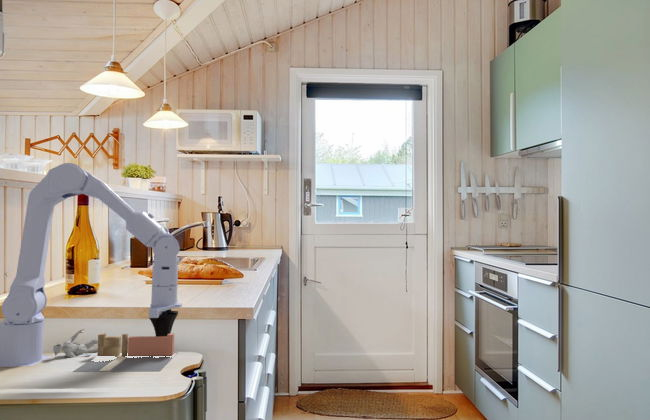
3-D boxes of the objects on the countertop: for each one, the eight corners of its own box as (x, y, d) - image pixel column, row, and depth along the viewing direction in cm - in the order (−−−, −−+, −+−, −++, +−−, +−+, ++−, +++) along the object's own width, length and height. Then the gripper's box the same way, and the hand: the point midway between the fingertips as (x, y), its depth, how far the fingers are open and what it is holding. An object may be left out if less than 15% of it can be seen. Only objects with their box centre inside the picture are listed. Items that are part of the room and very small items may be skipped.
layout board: (72, 374, 87) (72, 371, 88) (102, 355, 101) (102, 352, 101) (160, 374, 89) (160, 370, 89) (178, 354, 103) (178, 351, 103)
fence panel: (127, 355, 98) (128, 335, 99) (129, 354, 100) (130, 333, 100) (172, 355, 99) (172, 334, 99) (173, 354, 100) (174, 333, 101)
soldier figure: (116, 357, 103) (69, 353, 93) (101, 370, 104) (53, 367, 94) (108, 330, 108) (63, 323, 98) (94, 343, 108) (48, 336, 98)
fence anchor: (97, 356, 98) (98, 334, 98) (99, 355, 99) (100, 333, 99) (126, 356, 98) (126, 334, 99) (128, 355, 100) (128, 333, 100)
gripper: (172, 289, 98) (170, 351, 97) (190, 281, 112) (188, 336, 112) (139, 289, 98) (137, 351, 97) (162, 281, 112) (160, 335, 111)
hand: (162, 343), depth 104 cm, fingers closed
